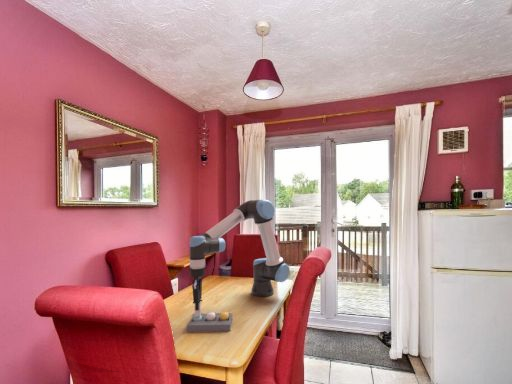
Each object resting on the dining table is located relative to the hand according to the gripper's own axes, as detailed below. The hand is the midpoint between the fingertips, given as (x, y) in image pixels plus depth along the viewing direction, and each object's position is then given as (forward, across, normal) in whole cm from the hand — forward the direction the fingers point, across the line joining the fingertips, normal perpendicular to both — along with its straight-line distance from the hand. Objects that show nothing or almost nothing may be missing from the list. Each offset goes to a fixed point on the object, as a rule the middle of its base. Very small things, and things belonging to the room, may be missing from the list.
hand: (197, 316), depth 131 cm
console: (+5, 0, +6) cm, 8 cm away
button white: (+2, 0, +7) cm, 7 cm away
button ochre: (+2, 0, +13) cm, 13 cm away
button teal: (+3, 0, 0) cm, 3 cm away
